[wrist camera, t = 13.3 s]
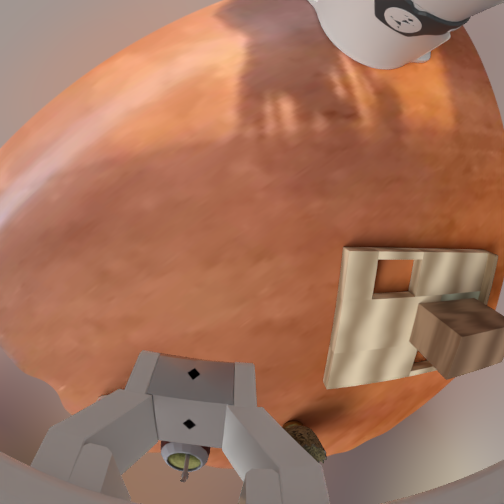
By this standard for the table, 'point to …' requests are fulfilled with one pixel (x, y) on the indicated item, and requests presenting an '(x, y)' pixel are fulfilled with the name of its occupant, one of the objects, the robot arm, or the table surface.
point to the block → (458, 335)
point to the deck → (395, 309)
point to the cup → (306, 439)
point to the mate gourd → (184, 456)
